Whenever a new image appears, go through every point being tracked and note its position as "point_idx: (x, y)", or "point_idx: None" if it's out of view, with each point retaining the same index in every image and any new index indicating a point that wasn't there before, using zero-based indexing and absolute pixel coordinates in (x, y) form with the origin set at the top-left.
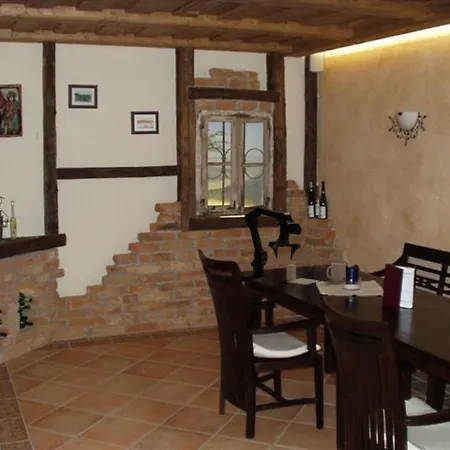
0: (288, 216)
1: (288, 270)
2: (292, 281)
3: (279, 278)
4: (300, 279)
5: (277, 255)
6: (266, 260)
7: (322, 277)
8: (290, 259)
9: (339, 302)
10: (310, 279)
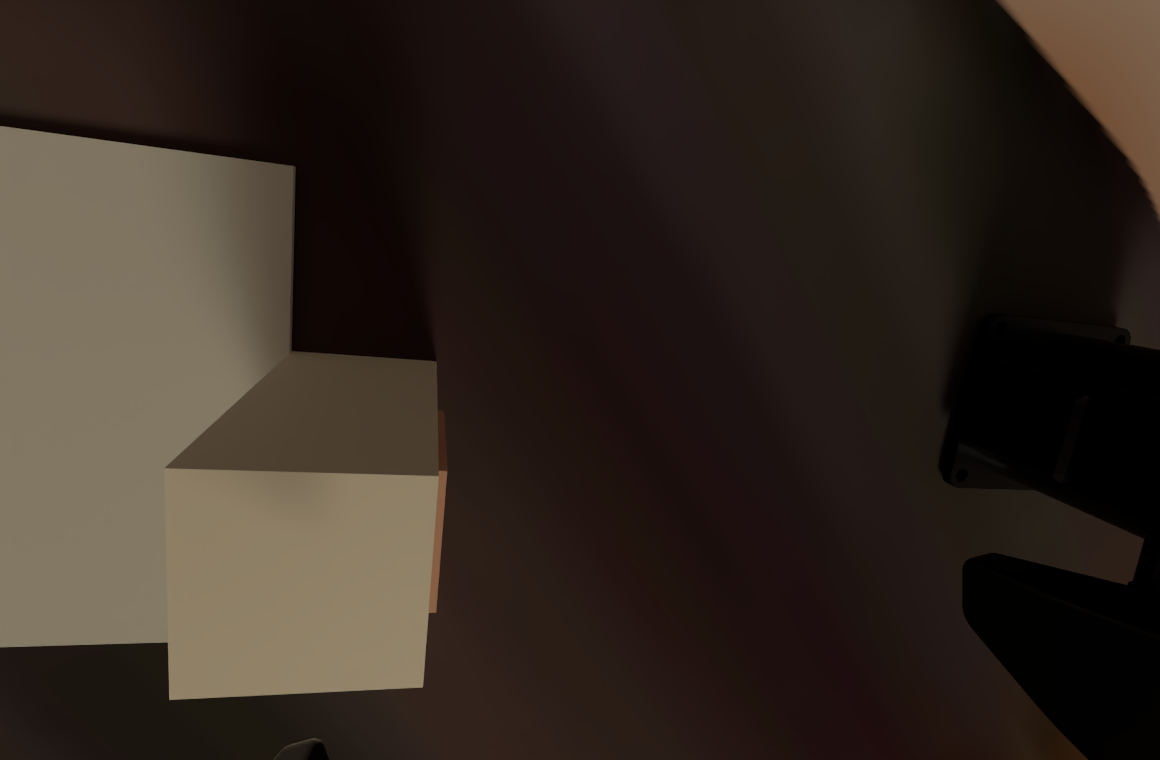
0: None
1: (364, 418)
2: (183, 242)
3: (637, 418)
4: None
5: (1072, 715)
6: None
7: None
8: (309, 748)
9: None
10: (17, 646)
